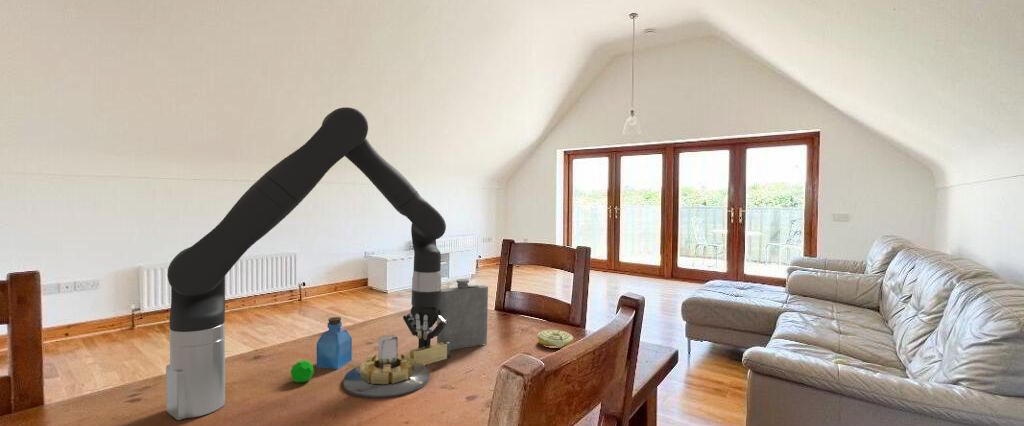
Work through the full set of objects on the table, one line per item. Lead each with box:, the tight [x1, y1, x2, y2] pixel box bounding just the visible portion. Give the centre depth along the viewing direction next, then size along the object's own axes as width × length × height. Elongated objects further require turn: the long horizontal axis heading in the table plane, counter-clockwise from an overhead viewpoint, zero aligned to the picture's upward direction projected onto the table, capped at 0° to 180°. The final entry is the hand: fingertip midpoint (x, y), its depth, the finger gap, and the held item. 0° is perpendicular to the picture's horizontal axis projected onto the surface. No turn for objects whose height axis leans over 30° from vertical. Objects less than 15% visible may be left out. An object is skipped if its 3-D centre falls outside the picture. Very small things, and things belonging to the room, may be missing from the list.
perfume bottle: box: [316, 316, 353, 370], centre depth 117 cm, size 6×6×12 cm
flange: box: [343, 334, 431, 399], centre depth 107 cm, size 20×20×10 cm
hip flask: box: [436, 278, 489, 351], centre depth 132 cm, size 16×4×20 cm, turn 121°
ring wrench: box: [359, 341, 452, 384], centre depth 112 cm, size 24×12×4 cm, turn 133°
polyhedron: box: [290, 359, 315, 384], centre depth 106 cm, size 5×5×5 cm
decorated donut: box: [537, 329, 574, 350], centre depth 136 cm, size 10×11×4 cm
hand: (424, 352), depth 118 cm, fingers closed
